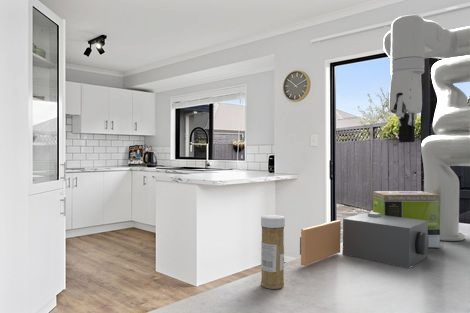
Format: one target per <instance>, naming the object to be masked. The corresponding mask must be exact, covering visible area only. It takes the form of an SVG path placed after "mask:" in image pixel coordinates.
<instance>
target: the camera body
mask: <svg viewBox="0 0 470 313" xmlns="http://www.w3.org/2000/svg"><path fill="white" fill-rule="evenodd" d="M428 245H429V238H428V221H426V220H418V219H410V218H402V217H394V216H387V215H381V213H375V212H373V211H370V212H364V213H363V212H362V213H360V214H355V215H352V216H348V217H347V216H346V217H344V218H343V219H342V255H345V256H350V257H354V258H359V259H364V260H368V261H374V262H378V263H382V264H387V265H391V266H396V267H401V268H405V269H410V268H412V267H414V266H415V265H416V263H417V262H418V263H419V261H420V262H421V261H423V260H424V259H426V258H427V257H428V250H429V247H428ZM422 259H423V260H422ZM418 263H417V264H418ZM414 264H415V265H414ZM411 266H412V267H411Z"/></svg>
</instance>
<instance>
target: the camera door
mask: <svg viewBox="0 0 470 313" xmlns="http://www.w3.org/2000/svg"><path fill="white" fill-rule="evenodd" d="M341 222H342V221H341V220H339V219H338V220H333V221H328V222H324V223H322V224H317V225H313V226H309V227H308V226H307V227H305V228H302V229H300V230H301V231H300V234H301V235H300V237H299V255H300V265H301V266H302V267H303V266H304V267H305V266H309V265H311V264H313V263H316V262H318V261H322V260H323V259H326V258H329V257H332V256H334V255H337V254H340V253H341V234H342V233H341V229H342V228H341V226H342V225H341V224H342V223H341Z"/></svg>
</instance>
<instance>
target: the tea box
mask: <svg viewBox="0 0 470 313" xmlns="http://www.w3.org/2000/svg"><path fill="white" fill-rule="evenodd" d="M372 212H375V213H381V215H387V216H394V217H402V218H410V219H418V220H426V221H428V238H429V245H428V248H437V249H438V248H441V240H440V199H439V195H437V194H432V193H428V192H424V190H423V191H421V190H420V191H419V190H417V191H414V190H413V191H412V190H411V191H410V190H407V191H405V190H404V191H403V190H400V191H399V190H394V191H393V190H392V191H391V190H390V191H389V190H386V191H385V190H383V191H381V190H380V191H377V190H376V191H374V190H373V191H372Z"/></svg>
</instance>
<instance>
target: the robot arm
mask: <svg viewBox="0 0 470 313" xmlns="http://www.w3.org/2000/svg"><path fill="white" fill-rule="evenodd" d="M390 27H391V28H390V30H389V31H387V33H386V34H385V35H384V37H383V44H382V45H383V51H384V52H385V54H386V55H387V56H388V57H389V58H390V76H391V79H390V83H389V84H390V85H389V100H388V102H389V103H388V111H389V112H390V113H391V114H394V115H396V118H398V130H399V131H398V142H399V143H414V142H415V141H416V140H415V139H416V138H415V137H416V129H415V128H416V127H415V126H416V119H418V116H417V115H418V114H420V113H421V112H422V108H423V88H422V86H423V85H422V75H423V74H424V73H425V59H430V58H432V59H440V60H438V61H436V62H435V63H434V64H433V65H432V66H431V70H430V71H431V72H430V74H431V81H432V82H431V83H432V85H433V89H434V92H435V95H436V98H437V102H436V107H435V111H434V115H433V120H432V130H433V133H434V134H432V135H428V136H426V137H425V138H424V139H423V140H422V142H421V146H420V151H421V157H422V164H423V166H422V167H423V192H428V193H432V194H437V195H439V199H440V241H447V242H448V241H449V242H450V241H451V242H455V241H456V242H458V241H463V240H465V238H466V237H465V236H466V235H465V234H463V233H462V232H460V231H459V230H460V228H459V227H460V226H459V225H460V224H459V223H460V220H459V219H460V179H459V177H458V175H457V174H456V172H455V171H454V170H453V169H452V168H451V167H457V166H459V167H470V105H468V97H467V95H466V93H465V92H464V91H463V90H461V89H460V88H459V87H457V86H456V85H454V84H460V83H470V25H469V26H464V27H459V28H455V29H447V28H444V27H443V26H442V25H440V23H438V22H437V21H433V20H429V19H424V17H422V16H421V15H419V14H406V15H402V16H399V17H397V18H395V19H394V20H393V21H392V22H391V26H390Z"/></svg>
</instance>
